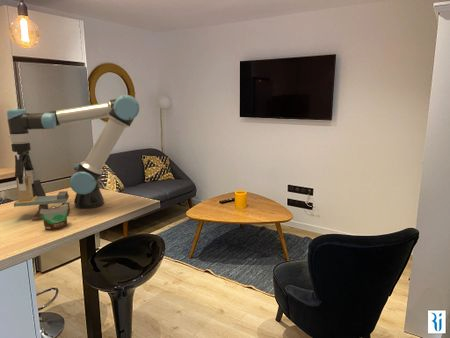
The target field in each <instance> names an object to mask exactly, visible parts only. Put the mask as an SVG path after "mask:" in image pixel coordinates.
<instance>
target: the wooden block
mask: <svg viewBox="0 0 450 338" xmlns="http://www.w3.org/2000/svg"><path fill="white" fill-rule="evenodd" d="M23 176H24V175H23ZM24 178H25V185H26V190H23V191H19V186H18V179H17V178H16V179H15V182H16V183H15V184H16V188H17V190H16V192H17V196H18V198H17V200H18V199H19V202H21V201H31V200H32V199H33V191H32V183H31V176H26V175H25V176H24Z"/></svg>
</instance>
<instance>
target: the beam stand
mask: <svg viewBox="0 0 450 338" xmlns="http://www.w3.org/2000/svg"><path fill="white" fill-rule="evenodd" d="M66 203H67V204H68V207H69V208H68V209H67V217H69V214H70V212H71V209H70V202H66ZM63 204H65V203H61V205H63ZM37 206H38V210H37V211H36V212H35V214H34V215H33V216H32V218H31V222H36V221H38V222H39V221H43V217H42V214H40V210H41V209H48V208H49V204H43V205H37Z"/></svg>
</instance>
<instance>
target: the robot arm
mask: <svg viewBox="0 0 450 338" xmlns="http://www.w3.org/2000/svg"><path fill="white" fill-rule="evenodd" d="M139 112H140V104H139V101H138V100H137V99H136V98H135V97H133V96H132V95H129V94H123V95H120V96H118V97H117V98H114V99H109V100H108V101H106V102H101V103H95V104H89V105H82V106H76V107H70V108H64V109H59V110H51V111H44V112H35V113H34V112H33V113H29V112H26V109H24V108H21V109H20V108H12V109H8V110H7V111H6V116H7V125H8V126H7V127H8V130H9V136H8V138H9V139H10V143H11V151H12V152H14V153H16V155H14V162H15V163H14V169H15V170H14V172H15V173H14V178H16V179H18V186H19V191H23V190H26V185H25V178H24V173H25V176H31V183H32V184H33V181H34V177H33V171H34V166H33V163H32V159H31V157H30V151H31V143H30V140H31V139H30V135H29V134H30V133H29V130H52V129H53V130H54V129H55V128H56V127H57V126H59V127H60V126H63V125H70V124H75V123H81V122H82V123H83V122H86V121H87V122H88V121H93V120H99V119H106V118H108V121H107V122H106V124H105V126H104V128H103V129H102V131H101V132H100V134H99V136H98V138H97V140H96V142H95V143H94V144H93V146H92V148H91V150H90V152H89V153H88V155H87V156H86V158H85V160H84V161H80V162H79V163H75V164H74V167H73V170H74V172H73V174H72V175H71V176H70V178H69V186H70V188H71V190H72V191H73V192H74V193H75V197H74V201H73V206H74V208H75V209H84V210H85V209H87V210H88V209H94V208H98V207H101V206H103V205H105V199H104V197H103V194H102V192H101V189H100V179H101V176H102V175H103V171H102V168H103V167H104V165H105V163H106V162H107V160H108V158H109V157H110V155H111V153H112V152H113V149H114V148H115V146H116V144H117V142H118V141H119V140H120V138H121V136H122V134H123V133H124V131H125V129H126V128H129V127H131V125H132V124H133V122H134V120H135V118H136V117H137V116H138V114H139Z"/></svg>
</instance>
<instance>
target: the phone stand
mask: <svg viewBox="0 0 450 338" xmlns="http://www.w3.org/2000/svg"><path fill="white" fill-rule="evenodd" d="M32 191H33V197H37V196H47V195H46V193H45V190H44V188H43V186H42V181H41V180H40V179H36V180H33V184H32Z"/></svg>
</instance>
